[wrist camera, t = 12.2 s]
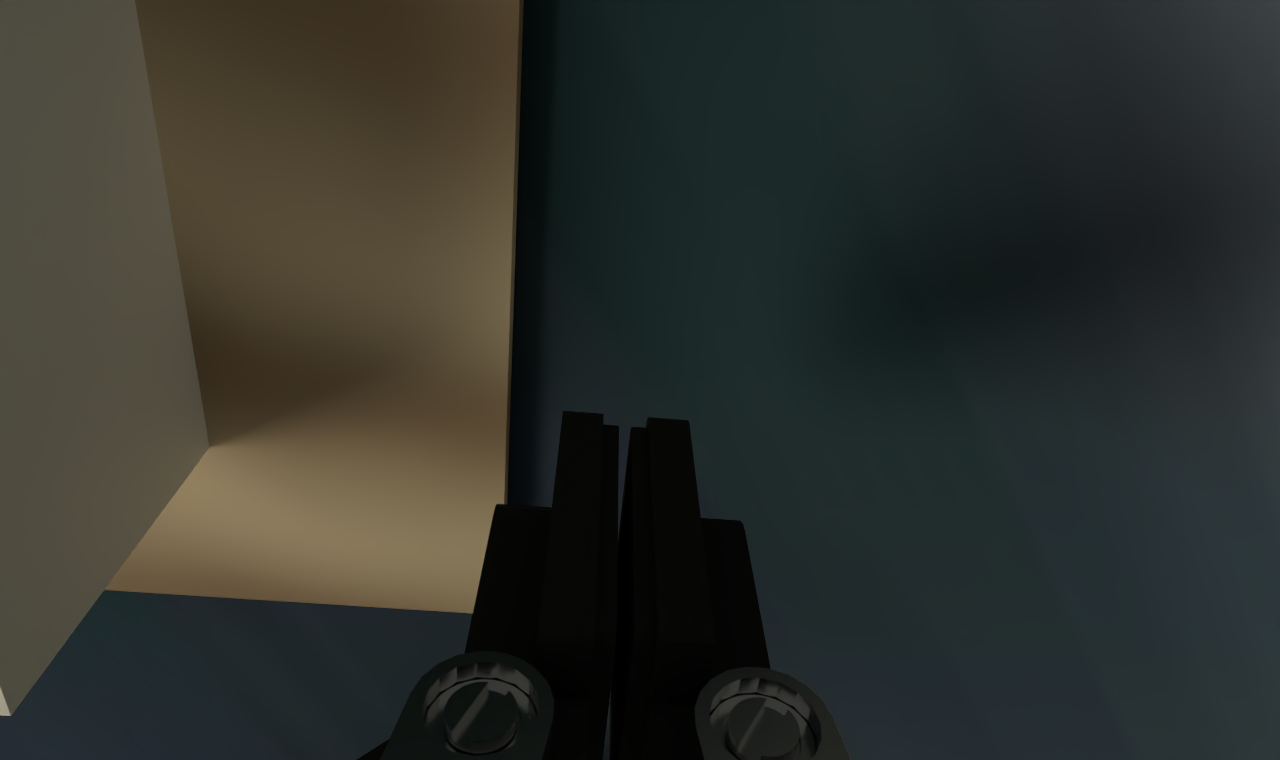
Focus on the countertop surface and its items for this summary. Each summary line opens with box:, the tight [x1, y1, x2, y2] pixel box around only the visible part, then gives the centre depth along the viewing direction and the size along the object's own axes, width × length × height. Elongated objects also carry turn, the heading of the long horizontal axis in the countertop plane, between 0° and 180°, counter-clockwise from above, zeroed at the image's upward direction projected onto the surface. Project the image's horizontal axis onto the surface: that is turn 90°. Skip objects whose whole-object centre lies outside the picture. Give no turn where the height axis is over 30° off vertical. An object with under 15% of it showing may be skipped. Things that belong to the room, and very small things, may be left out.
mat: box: [104, 0, 524, 613], centre depth 15 cm, size 12×16×1 cm
